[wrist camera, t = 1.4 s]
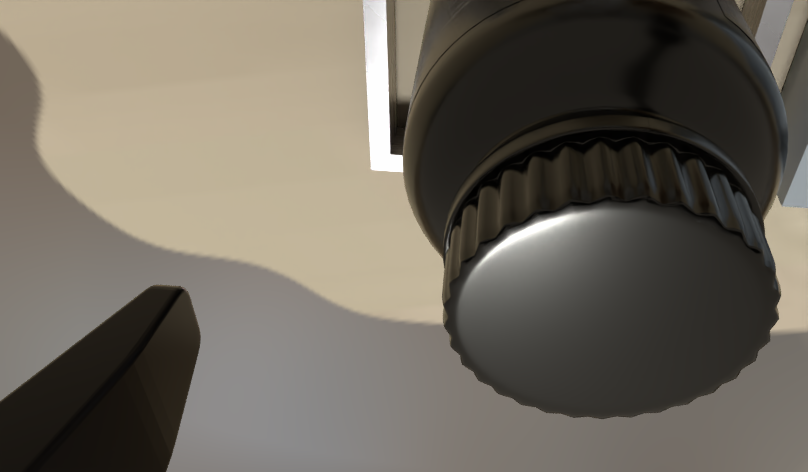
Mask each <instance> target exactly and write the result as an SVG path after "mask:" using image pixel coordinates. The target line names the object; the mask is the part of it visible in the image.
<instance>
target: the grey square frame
mask: <svg viewBox="0 0 808 472" xmlns="http://www.w3.org/2000/svg"><path fill="white" fill-rule="evenodd" d="M793 1H794V0H745V4H744V7H743V10H742V15H743V17H744V19H745V21H746V23H747V25H748V27H749V28H750V30H751V32H752V34H753V36H754V38H755V40H756V42H757V44H758V45H759V47H760V49H761V51H762V53H763V55H764V57H765V59H766V61H767V62H768V64H769V66H770V67H771V65H772V62H773V59H774V56H775V53H776V50H777V47H778V44H779V41H780V39H781V36H782V33H783V30H784V27H785V24H786V21H787V18H788V16H789V13H790V10H791V7H792V4H793ZM363 13H364V34H365V55H366V75H367V96H368V117H369V137H370V158H371V170H381V171H396V172H403V146H404V136H405V128H399V127H397V104H396V52H395V1H394V0H363Z"/></svg>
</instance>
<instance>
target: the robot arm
mask: <svg viewBox="0 0 808 472" xmlns="http://www.w3.org/2000/svg"><path fill="white" fill-rule="evenodd" d="M200 338H201V336H200V329H199V325H198V322H197V319H196V315H195V312H194V309H193V305H192V302H191V299H190V296H189V293H188V291H187V290H186V289H185V288H184V287H181V286H170V285H153V286H151V287H149V288H148V289H146V290H145V291H143V292H142V293H141V294H140V295H138V296H137V297H135V298H134V299H133V300H132V301H130V302H129V303H128V304H126V305H125V306H124V307H122V308H121V309H120V310H119V311H117V312H116V313H115V314H113V315H112V316H111V317H109V318H108V319H107V320H105V321H104V322H103V323H102V324H100V325H99V326H98V327H96V328H95V329H94V330H93V331H91V332H90V333H89V334H87V335H86V336H85V337H84V338H82V339H81V340H79V341H78V342H77V343H75V344H74V345H73V346H72V347H70V348H69V349H68V350H66V351H65V352H64V353H63V354H61V355H60V356H59V357H57V358H56V359H55V360H53V361H52V362H51V363H50V364H48V365H47V366H45V367H44V368H43V369H42V370H40V371H39V372H38V373H36V374H35V375H34V376H32V377H31V378H30V379H29V380H27V381H26V382H25V383H23V384H22V385H21V386H19V387H18V388H17V389H16V390H14V391H13V392H12V393H10V394H9V395H8V396H6V397H5V398H4V399H2V400H1V401H0V472H166V470H167V468H168V465H169V462H170V459H171V456H172V453H173V449H174V445H175V442H176V438H177V435H178V430H179V427H180V423H181V419H182V414H183V411H184V407H185V403H186V399H187V395H188V391H189V388H190V384H191V380H192V376H193V372H194V368H195V364H196V360H197V356H198V352H199V348H200Z"/></svg>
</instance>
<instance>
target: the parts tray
mask: <svg viewBox="0 0 808 472" xmlns="http://www.w3.org/2000/svg"><path fill="white" fill-rule="evenodd" d="M781 96H782V99H783V103H784V107H785V111H786V115H787V124H788V154H787V160H786V167H785V171H784V174H783V178H782V182H781V185H780V188H779V190H778V193H777V196H778V198H779V200H780V203H781V205H782V206H785V207H800V208H808V21H807V24H806V27H805V30H804V32H803V35H802V38H801V40H800V43H799V46H798V49H797V51H796V54H795V57H794V60H793V62H792V65H791V68H790V70H789V73H788V76H787V79H786V81H785V84H784V87H783V90H782V92H781Z"/></svg>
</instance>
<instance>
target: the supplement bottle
mask: <svg viewBox="0 0 808 472" xmlns="http://www.w3.org/2000/svg"><path fill="white" fill-rule="evenodd" d="M787 154H788V124H787V115H786V111H785V107H784V103H783V99H782V96H781V93H780V91H779V88H778V86H777V83H776V81H775V78H774V76H773V73H772V71H771V69H770V66H769V64H768V62H767V61H766V59H765V57H764V55H763V53H762V51H761V49H760V47H759V45H758V44H757V42H756V40H755V38H754V36H753V34H752V32H751V30H750V28H749V27H748V25H747V23H746V21H745V19H744V17H743V15H742V13H741V11H740V10H739V8H738V6H737V4H736V2H735V0H430V5H429V10H428V15H427V20H426V25H425V30H424V36H423V41H422V46H421V51H420V56H419V61H418V66H417V71H416V76H415V81H414V86H413V91H412V96H411V101H410V106H409V111H408V116H407V121H406V127H405V136H404V146H403V176H404V183H405V188H406V192H407V196H408V200H409V203H410V206H411V208H412V211H413V214H414V216H415V218H416V220H417V222H418V224H419V226H420V228H421V230H422V231H423V233H424V234H425V236H426V237H427V239H428V240H429V242H430V243H431V245H432V246H433V247H434V249H435V250H436V251H437V252H438V253H439V255H440V256H441V257H442V258H443V262H444V268H445V270H444V280H443V291H442V300H443V306H444V309H443V323H444V327H445V329H446V330H447V332H448V333H449V334H450V336H449V340H450V346H451V347H452V348H453V349H454V350H455V351H456V352H457V353H458V354H459V355H460V357H461V362H462V365H464V366H465V367H467V368H468V369H470V370H471V371H473V372H474V373H475V376H476V377H477V379H478V380H479V381H480V382H483V383H485V384H487V385H490V386H492V387H493V388H494V390H495V391H496V392H497V393H498V394H500V395H503V396H506V397H510V398H513V399H514V400H516V402H518V403H519V404H521V405H525V406H531V407H536V408H538V409H540V410H542V411H544V412H546V413H559V414H560V413H561V414H564V415H567V416H570V417H573V418H575V417H593V418H599V419H605V418H610V417H616V416H618V417H634V416H637V415H640V414H643V413H658V412H662V411H664V410H666V409H668V408H670V407H674V406H680V405H686V404H689V403H690V402H692V401H693V400H694V399H696V398H697V397H700V396H704V395H708V394H711V393H714V392H715V391H716V390H717V389H718V388H719V387H720V386H721V385H722V384H724V383H727V382H729V381H731V380H734V379H736V378H737V376H738V375H739V373H740V371H741V370H742V369H743V368H745V367H746V366H748V365H750V364H751V363H753V362H754V361H756V358H757V353H758V351H759V350H760V349H761V348H762V347H764V346H765V345H766V344H767V343H768V342H769V341H770V330H771V328H772V327H773V326H774V325H775V324H776V322H777V321H778V320H779V313H778V308H777V304H778V302H779V300H780V297H781V289H780V285H779V282H778V279H777V276H776V268H775V262H774V259H773V256H772V253H771V251H770V248H769V246H768V243H767V240H766V238H765V228H764V219H765V218H766V216H767V214H768V212H769V210H770V208H771V207H772V205H773V202H774V200H775V198H776V195H777V193H778V190H779V188H780V185H781V182H782V178H783V174H784V171H785V167H786V160H787Z"/></svg>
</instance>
